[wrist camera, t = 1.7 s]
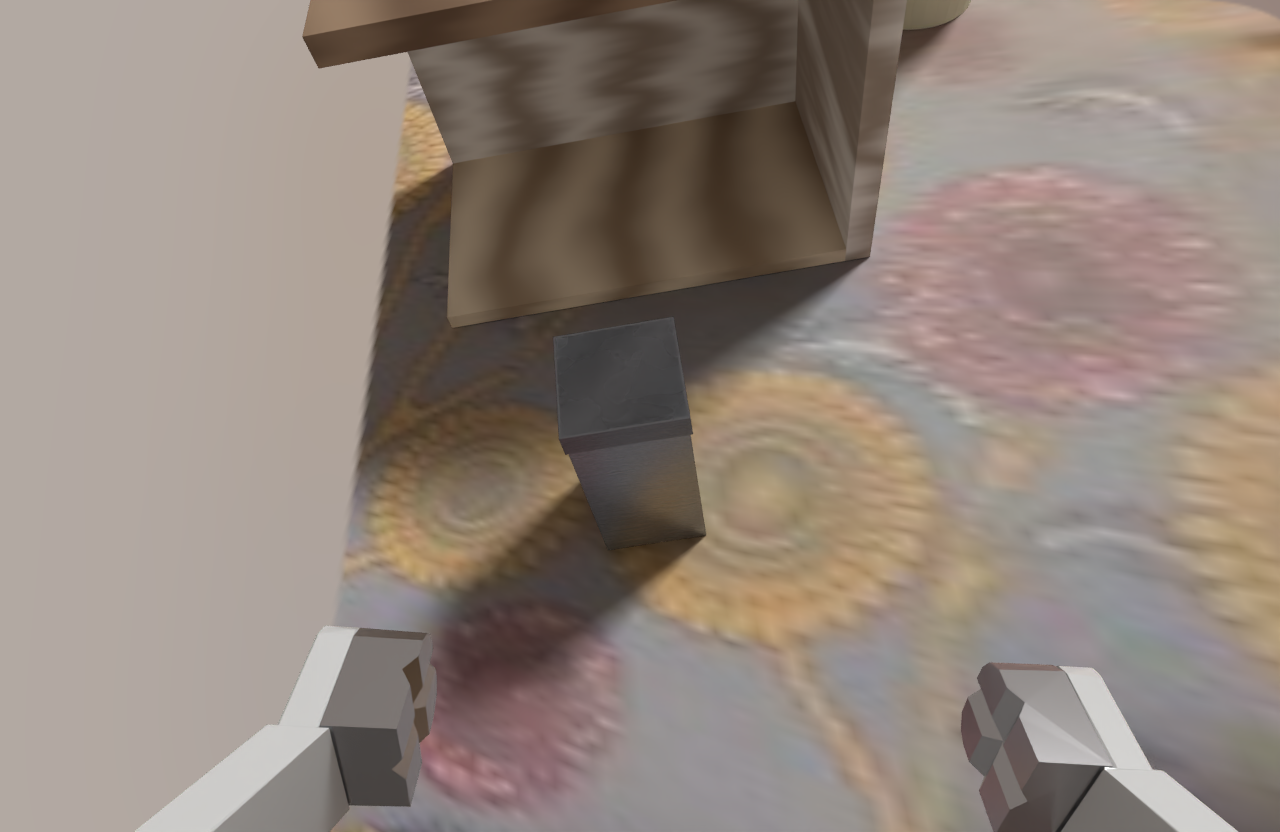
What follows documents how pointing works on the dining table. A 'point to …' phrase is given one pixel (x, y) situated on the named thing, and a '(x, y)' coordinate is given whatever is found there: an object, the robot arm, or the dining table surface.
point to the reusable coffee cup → (932, 12)
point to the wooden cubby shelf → (639, 136)
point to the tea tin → (629, 431)
